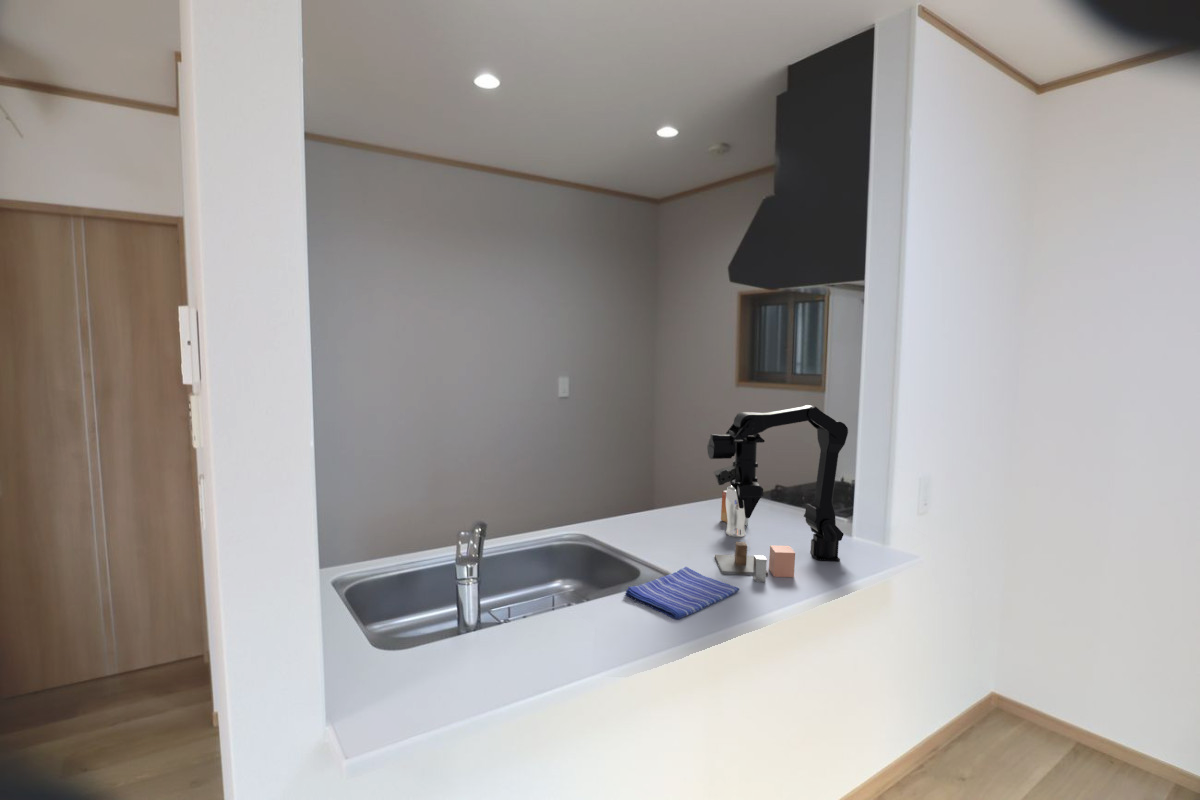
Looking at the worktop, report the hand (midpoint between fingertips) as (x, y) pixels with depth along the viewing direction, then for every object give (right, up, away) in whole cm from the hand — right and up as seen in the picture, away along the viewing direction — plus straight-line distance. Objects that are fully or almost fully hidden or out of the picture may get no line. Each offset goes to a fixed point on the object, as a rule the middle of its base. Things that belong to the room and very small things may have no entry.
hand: (744, 512), depth 164 cm
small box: (+5, -10, +35) cm, 37 cm away
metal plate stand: (-2, -14, -4) cm, 14 cm away
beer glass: (+3, -11, +23) cm, 26 cm away
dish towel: (-21, -16, -22) cm, 34 cm away
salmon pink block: (+8, -14, -8) cm, 18 cm away
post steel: (+1, -15, -13) cm, 20 cm away
